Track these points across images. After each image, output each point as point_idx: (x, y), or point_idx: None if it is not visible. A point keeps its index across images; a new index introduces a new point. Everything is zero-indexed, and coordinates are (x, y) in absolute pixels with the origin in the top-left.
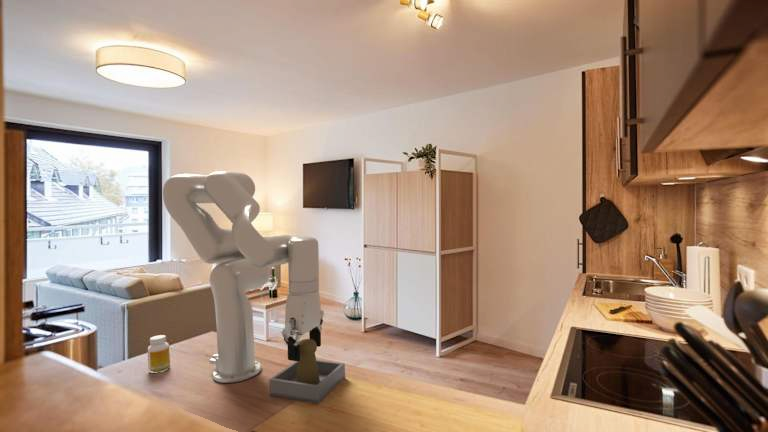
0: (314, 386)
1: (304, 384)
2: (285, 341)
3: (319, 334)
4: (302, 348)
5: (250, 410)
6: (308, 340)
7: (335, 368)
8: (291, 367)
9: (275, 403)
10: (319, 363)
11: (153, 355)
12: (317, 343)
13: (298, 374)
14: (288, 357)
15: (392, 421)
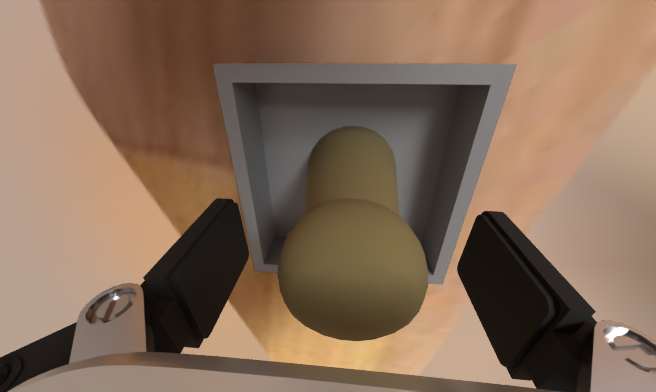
0: (253, 262)
1: (250, 231)
2: (22, 353)
3: (499, 352)
4: (280, 288)
5: (139, 61)
6: (355, 325)
7: (431, 245)
8: (381, 83)
9: (216, 121)
10: (454, 189)
11: None
12: (466, 276)
13: (310, 170)
14: (214, 207)
15: (276, 352)
